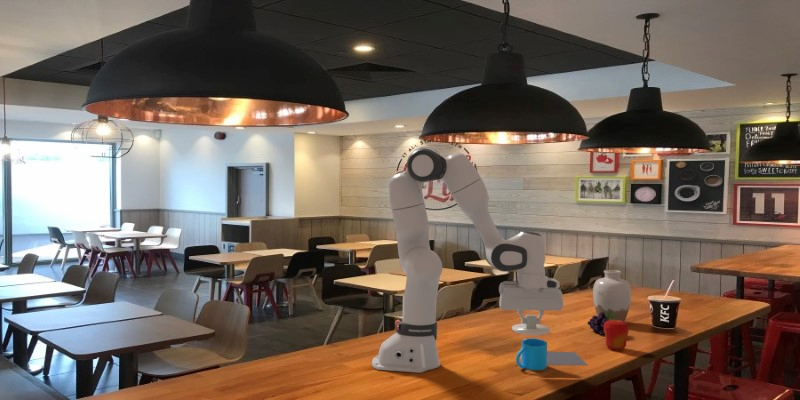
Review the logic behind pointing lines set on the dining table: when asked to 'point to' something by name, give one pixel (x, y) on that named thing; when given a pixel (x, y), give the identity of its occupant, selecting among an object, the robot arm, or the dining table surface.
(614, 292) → the vase
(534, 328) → the lid
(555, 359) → the mat
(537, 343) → the mug
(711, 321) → the dining table surface
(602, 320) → the fruit
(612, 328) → the apple
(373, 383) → the dining table surface
